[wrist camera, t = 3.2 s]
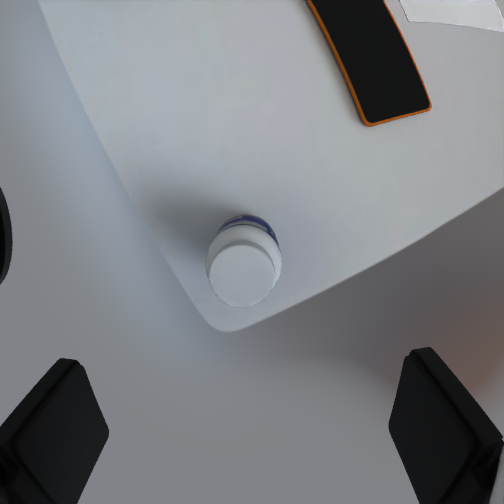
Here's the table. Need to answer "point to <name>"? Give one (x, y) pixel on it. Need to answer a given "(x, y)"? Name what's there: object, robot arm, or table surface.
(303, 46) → the table surface
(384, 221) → the table surface
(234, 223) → the pill bottle
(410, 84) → the smartphone
